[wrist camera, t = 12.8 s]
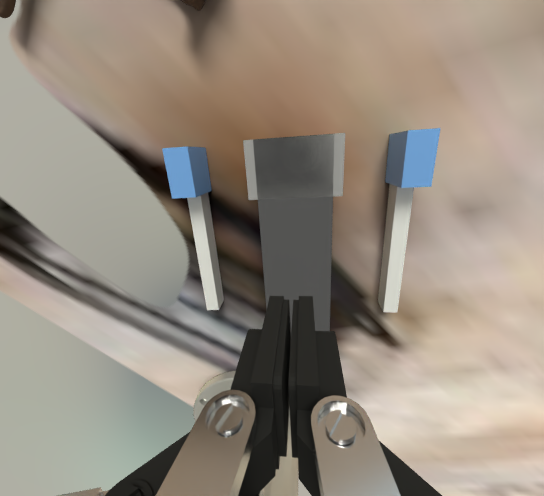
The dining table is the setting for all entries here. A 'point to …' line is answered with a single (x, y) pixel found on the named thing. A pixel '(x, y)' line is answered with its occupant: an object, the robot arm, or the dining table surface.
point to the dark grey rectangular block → (297, 214)
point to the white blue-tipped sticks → (402, 178)
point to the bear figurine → (3, 3)
